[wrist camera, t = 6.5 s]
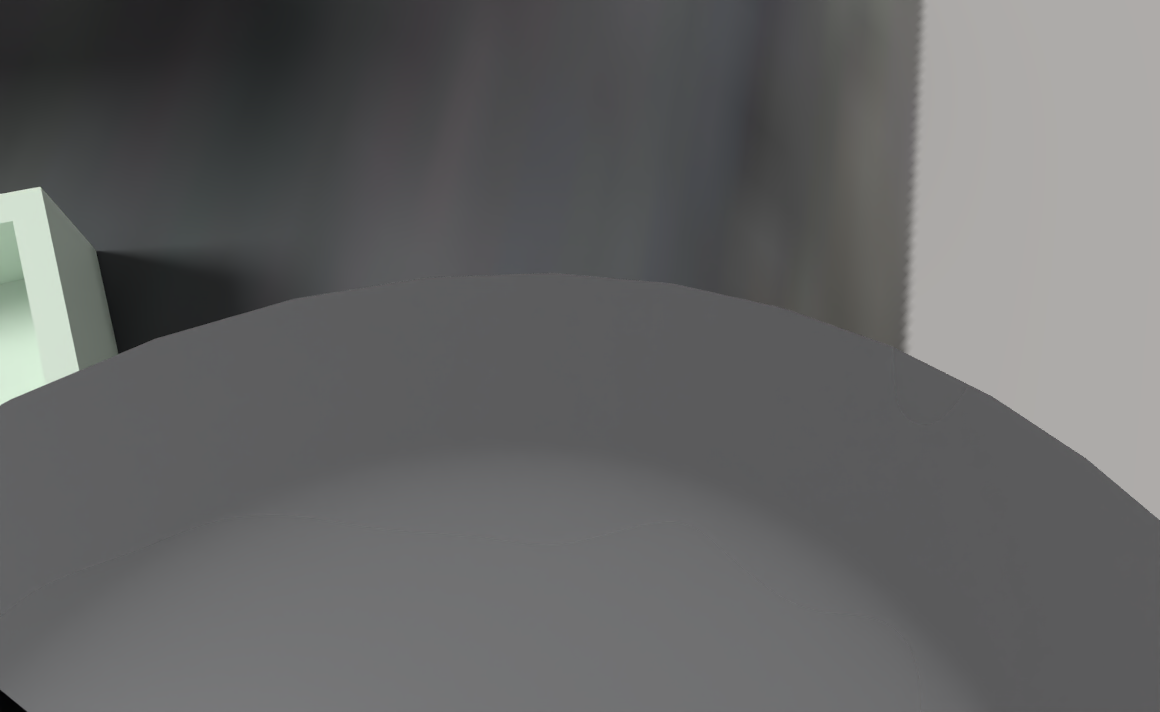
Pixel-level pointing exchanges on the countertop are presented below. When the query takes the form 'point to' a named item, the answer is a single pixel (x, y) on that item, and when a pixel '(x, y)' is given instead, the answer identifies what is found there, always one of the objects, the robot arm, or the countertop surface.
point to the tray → (47, 296)
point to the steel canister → (556, 519)
